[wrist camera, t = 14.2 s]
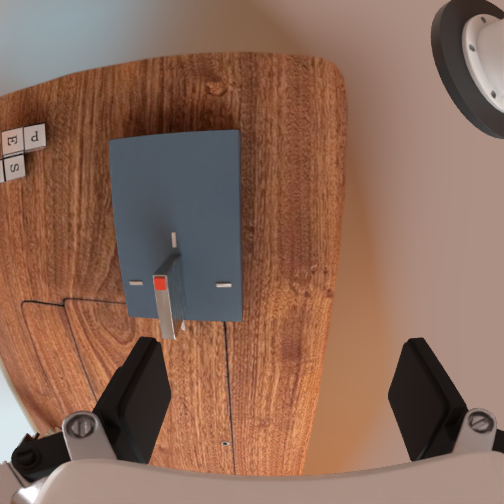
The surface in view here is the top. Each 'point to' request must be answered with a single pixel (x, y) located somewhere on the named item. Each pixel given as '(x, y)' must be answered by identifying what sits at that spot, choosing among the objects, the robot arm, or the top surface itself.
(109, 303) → the top surface
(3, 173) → the building blocks
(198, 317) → the blue-grey rectangular block
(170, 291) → the lever
